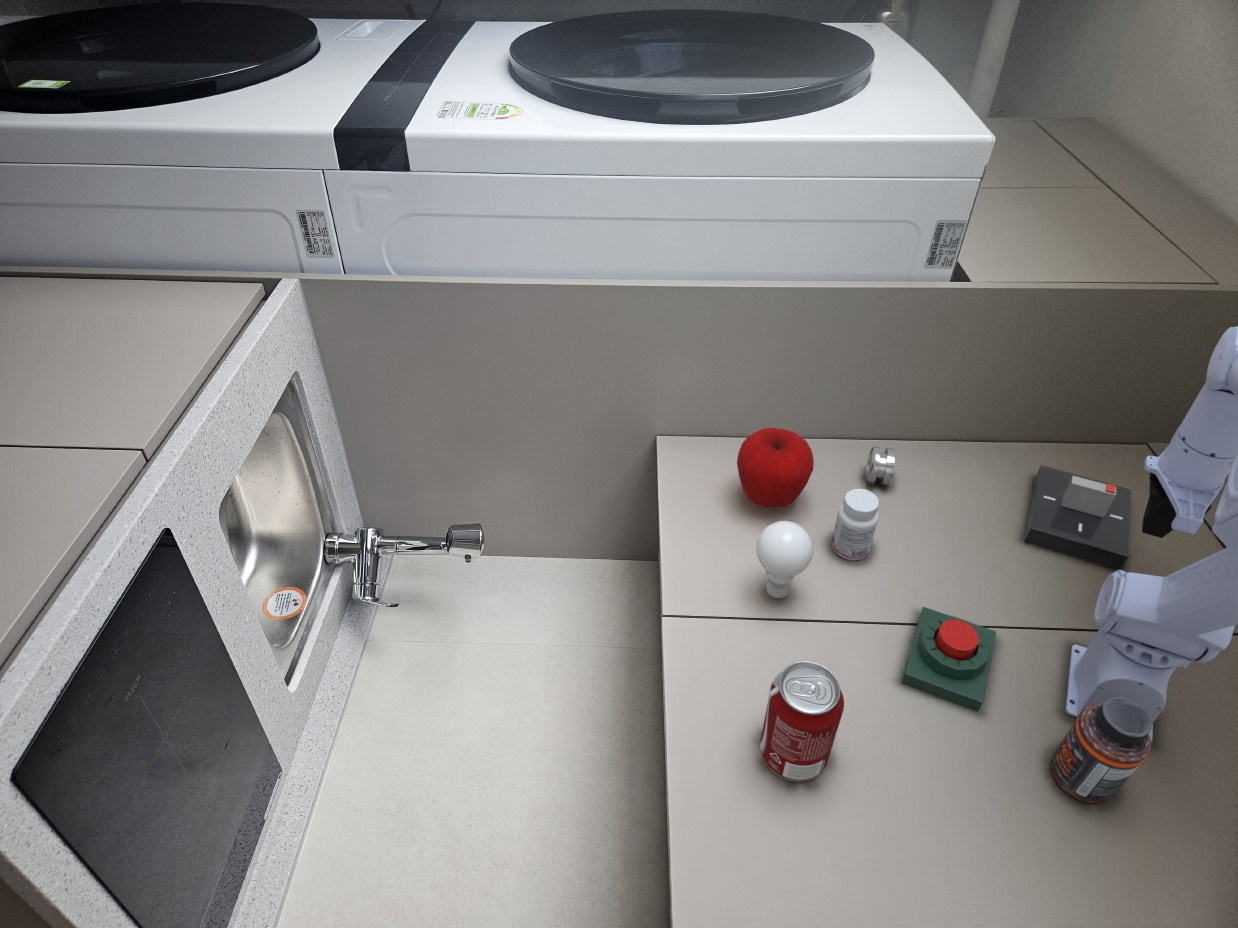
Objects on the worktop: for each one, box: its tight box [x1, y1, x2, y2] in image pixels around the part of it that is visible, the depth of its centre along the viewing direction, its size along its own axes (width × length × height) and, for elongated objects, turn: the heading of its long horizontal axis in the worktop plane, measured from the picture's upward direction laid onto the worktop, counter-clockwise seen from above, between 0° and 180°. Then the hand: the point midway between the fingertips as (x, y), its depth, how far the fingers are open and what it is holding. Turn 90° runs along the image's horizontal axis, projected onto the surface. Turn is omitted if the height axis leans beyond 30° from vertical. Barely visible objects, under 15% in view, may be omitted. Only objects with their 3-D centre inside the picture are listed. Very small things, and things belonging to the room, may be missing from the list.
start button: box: [936, 620, 979, 660], centre depth 86 cm, size 4×4×2 cm
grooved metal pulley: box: [865, 446, 896, 486], centre depth 109 cm, size 5×3×5 cm, turn 166°
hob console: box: [1024, 464, 1132, 570], centre depth 103 cm, size 13×11×3 cm
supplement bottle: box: [1049, 697, 1152, 804], centre depth 75 cm, size 6×6×11 cm
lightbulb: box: [755, 520, 814, 599], centre depth 93 cm, size 6×6×11 cm
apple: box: [736, 427, 815, 509], centre depth 105 cm, size 10×10×11 cm
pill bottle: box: [831, 488, 880, 561], centre depth 99 cm, size 5×5×8 cm
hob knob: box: [1061, 476, 1116, 518], centre depth 101 cm, size 5×2×4 cm, turn 63°
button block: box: [901, 606, 997, 712], centre depth 88 cm, size 10×8×4 cm
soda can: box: [759, 660, 845, 783], centre depth 77 cm, size 7×7×12 cm
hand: (1152, 531), depth 89 cm, fingers closed
